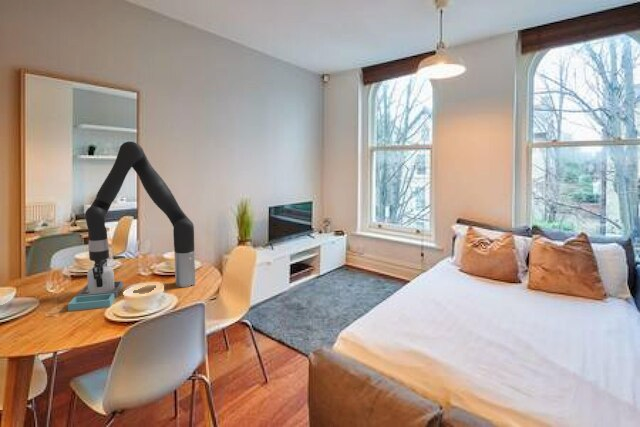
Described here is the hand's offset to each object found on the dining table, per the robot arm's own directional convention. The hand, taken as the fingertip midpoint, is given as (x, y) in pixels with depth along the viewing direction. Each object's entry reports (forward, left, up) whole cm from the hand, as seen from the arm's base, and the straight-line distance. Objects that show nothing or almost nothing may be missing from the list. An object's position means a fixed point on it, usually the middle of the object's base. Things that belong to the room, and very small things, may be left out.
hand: (101, 284), depth 152 cm
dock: (0, +14, -4) cm, 15 cm away
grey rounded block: (0, 0, -4) cm, 4 cm away
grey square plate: (0, 0, -4) cm, 4 cm away
